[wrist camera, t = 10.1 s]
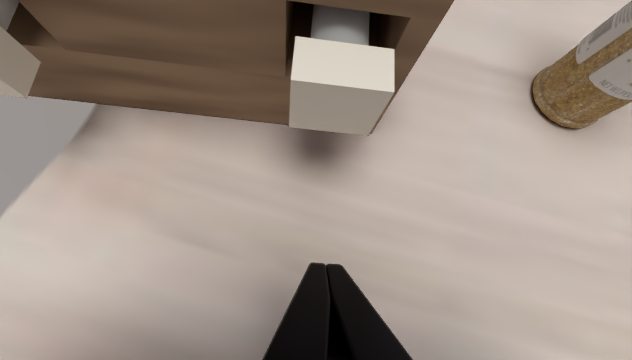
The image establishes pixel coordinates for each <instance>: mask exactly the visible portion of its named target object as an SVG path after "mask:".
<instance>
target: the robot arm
mask: <svg viewBox="0 0 632 360" xmlns="http://www.w3.org/2000/svg"><path fill="white" fill-rule="evenodd" d="M262 360H413V359H412V358H411V357H410V355H409V354H408V353H407V351H406V350H405V349H404V347H403V346H402V345H401V343H400V342H399V341H398V339H397V338H396V337H395V335H394V334H393V333H392V331H391V330H390V329H389V327H388V326H387V325H386V323H385V322H384V321H383V319H382V318H381V317H380V315H379V314H378V313H377V311H376V310H375V309H374V307H373V306H372V305H371V303H370V302H369V301H368V299H367V298H366V297H365V295H364V294H363V293H362V291H361V290H360V289H359V287H358V286H357V285H356V283H355V282H354V281H353V279H352V278H351V277H350V275H349V274H348V273H347V271H346V270H345V269H344V267H343V266H342V265H339V264H327V265H325V264H324V263H310V264H309V266H308V268H307V270H306V272H305V274H304V276H303V278H302V280H301V282H300V284H299V286H298V288H297V290H296V292H295V294H294V297H293V299H292V301H291V303H290V305H289V307H288V309H287V311H286V313H285V315H284V317H283V319H282V321H281V323H280V325H279V327H278V329H277V331H276V333H275V335H274V337H273V339H272V341H271V343H270V345H269V347H268V349H267V351H266V353H265V355H264V357H263V359H262Z"/></svg>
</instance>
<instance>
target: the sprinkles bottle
mask: <svg viewBox="0 0 632 360" xmlns="http://www.w3.org/2000/svg"><path fill="white" fill-rule="evenodd" d="M533 94H534V99H535V102H536V104H537V105H538V107H539V108H540V110H541V111H542V112H543V113H544V114H545V115H546V116H547V117H548V118H549V119H550V120H552V121H554V122H555V123H557V124H559V125H561V126H564V127H570V128H584V127H587V126H589V125H591V124H593V123H595V122H596V121H597V120H598V119H599V118H601V117H603V116H605V115H607V114H609V113H610V112H612V111H614V110H616V109H619V108H621V107H623V106H625V105H626V104H628V103H630V102H632V1H631V2H629V3H628V4H627V5H625V6H624V7H623V8H622V9H620V10H619V11H618V12H617V13H615V14H614V15H613V16H611V17H610V18H609V19H608V20H606V21H605V22H604V23H603V24H601V25H600V26H599V27H598V28H596V29H595V30H594V31H592V32H591V33H590V34H589V35H587V36H586V37H585V38H584V39H583V40H582V41H581V42H580V44H579V45H577V46H576V47H575V48H574V49H572V50H571V51H570V52H568V53H567V54H566V55H565V56H563V57H562V58H561V59H560V60H558V61H557V62H556V63H554V64H553V65H551V66H549V67H547V68H545V69H544V70H542V71H541V72H540V73H539V74H538V75H537V77H536V79H535V80H534V84H533Z"/></svg>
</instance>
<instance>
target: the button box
mask: <svg viewBox="0 0 632 360" xmlns="http://www.w3.org/2000/svg"><path fill="white" fill-rule="evenodd" d="M18 1H19V4H18V6H17V8H16V11H15V13H14V15H13V17H12V20H11V22H10V24H9V26H8V29H7V31H6V32H7V33H9V34H10V35H11V36H12V37H13V38H14V39H15V40H16V41H18V42H19V43H20V44H21V45H22V46H23V47H24V48H26V49H27V50H28V51H29V52H30V53H31V54H32V55H33V56H35V57H36V58H37V59H38V60H39V61H40V62H41V63H40V66H39V68H38V71H37V74H36V76H35V79H34V81H33V84H32V86H31V89H30V92H29V94H28V96H36V97H44V98H53V99H62V100H72V101H80V102H89V103H98V104H107V105H116V106H125V107H134V108H143V109H152V110H161V111H170V112H179V113H188V114H197V115H206V116H215V117H224V118H233V119H242V120H251V121H260V122H269V123H278V124H287V125H289V110H290V84H291V72H292V63H293V54H294V45H295V37H296V36H299V37H306V38H311V28H312V17H313V7H314V4H317V5H324V6H331V7H338V8H345V9H353V10H360V11H367V12H369V46H375V47H382V48H390V49H394V94H393V96H392V97H391V99H390V101H389V102H388V104H387V105H386V107H385V109H384V110H383V112H382V114H381V115H380V117H379V119H378V120H377V122H376V124H375V125H374V127H373V129H372V130H371V132H370V133H369V134H371V133H372V132H373V130H374V129H375V127H376V125H377V124H378V122H379V121H380V119H381V117H382V116H383V114H384V113H385V111H386V109H387V108H388V106H389V104H390V103H391V101H392V100H393V98H394V96H395V95H396V93H397V92H398V90H399V88H400V87H401V85H402V84H403V82H404V80H405V79H406V77H407V76H408V74H409V72H410V71H411V69H412V67H413V66H414V64H415V63H416V61H417V59H418V58H419V56H420V55H421V53H422V51H423V50H424V48H425V47H426V45H427V43H428V42H429V40H430V39H431V37H432V35H433V34H434V32H435V30H436V29H437V27H438V26H439V24H440V22H441V21H442V19H443V18H444V16H445V14H446V13H447V11H448V10H449V8H450V6H451V5H452V3H453V2H454V0H18Z"/></svg>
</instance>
